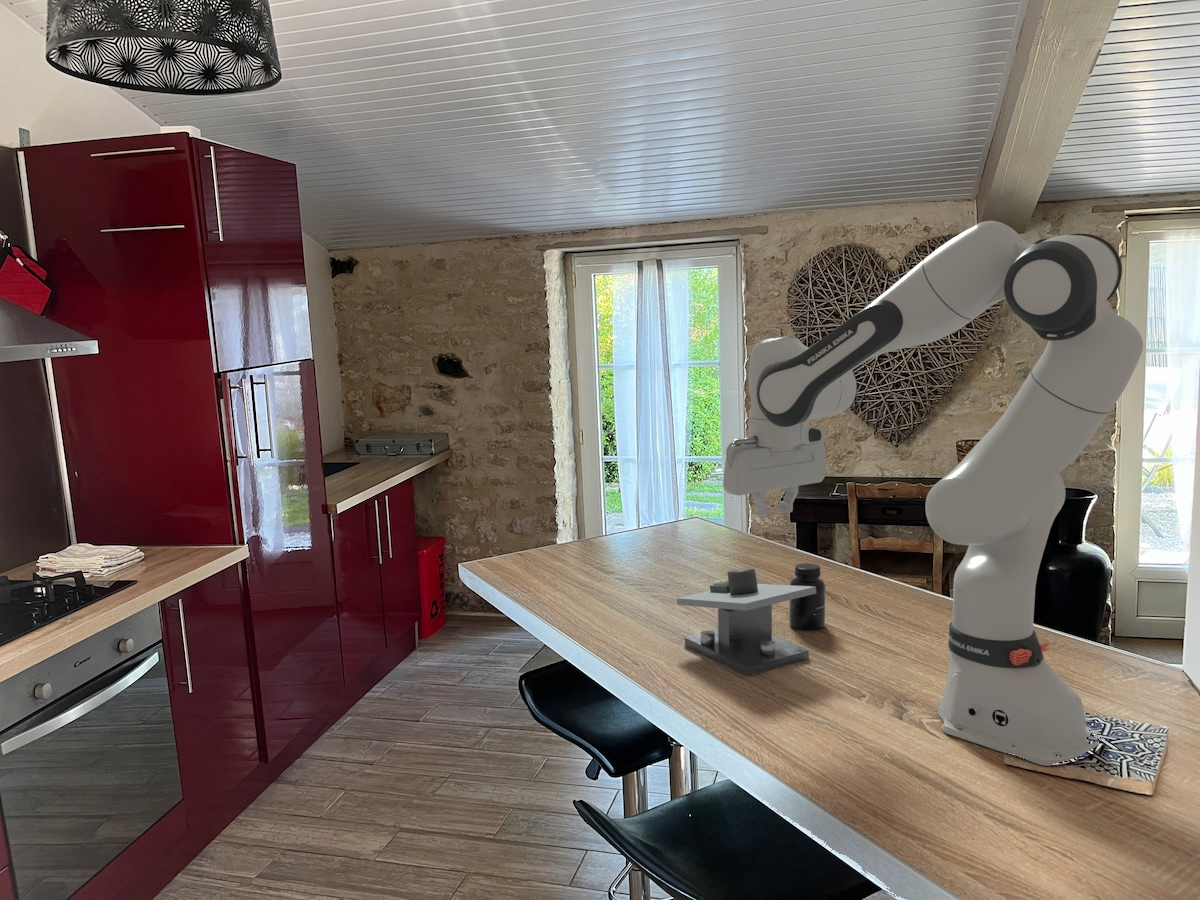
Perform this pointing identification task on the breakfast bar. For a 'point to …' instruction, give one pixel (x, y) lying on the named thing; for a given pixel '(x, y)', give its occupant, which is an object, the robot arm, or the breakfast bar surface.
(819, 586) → the supplement bottle
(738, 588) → the plate
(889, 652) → the breakfast bar surface
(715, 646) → the stand
